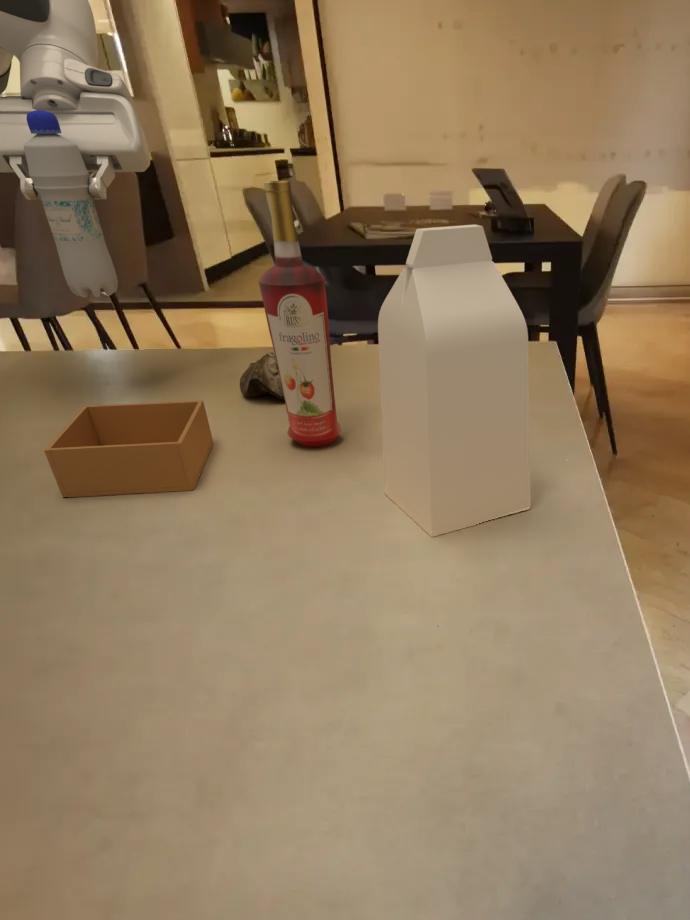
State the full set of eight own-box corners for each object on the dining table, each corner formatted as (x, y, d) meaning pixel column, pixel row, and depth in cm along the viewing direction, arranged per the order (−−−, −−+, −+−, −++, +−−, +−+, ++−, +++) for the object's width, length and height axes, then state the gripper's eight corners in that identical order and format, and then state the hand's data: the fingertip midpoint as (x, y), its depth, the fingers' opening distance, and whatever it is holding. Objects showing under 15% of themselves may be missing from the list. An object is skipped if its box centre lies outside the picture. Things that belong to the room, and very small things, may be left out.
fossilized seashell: (319, 375, 104) (274, 376, 109) (291, 340, 98) (245, 342, 104) (295, 415, 102) (250, 413, 107) (266, 381, 96) (220, 381, 102)
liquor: (286, 453, 87) (238, 185, 70) (287, 432, 93) (243, 179, 75) (345, 449, 88) (312, 184, 71) (343, 428, 94) (312, 178, 77)
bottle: (58, 297, 94) (-6, 109, 81) (93, 287, 99) (38, 109, 86) (99, 301, 92) (40, 110, 80) (133, 290, 97) (83, 110, 85)
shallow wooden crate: (62, 498, 77) (43, 450, 74) (99, 449, 88) (83, 405, 85) (194, 490, 79) (181, 443, 75) (213, 443, 90) (203, 400, 86)
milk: (431, 537, 70) (417, 241, 54) (384, 493, 78) (360, 224, 62) (530, 509, 75) (544, 231, 59) (477, 471, 83) (476, 216, 67)
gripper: (-42, 73, 85) (-41, 176, 84) (134, 75, 88) (138, 175, 86) (-12, 118, 91) (-10, 215, 90) (152, 119, 94) (156, 213, 92)
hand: (64, 196), depth 88 cm, fingers closed on bottle, 6 cm apart
